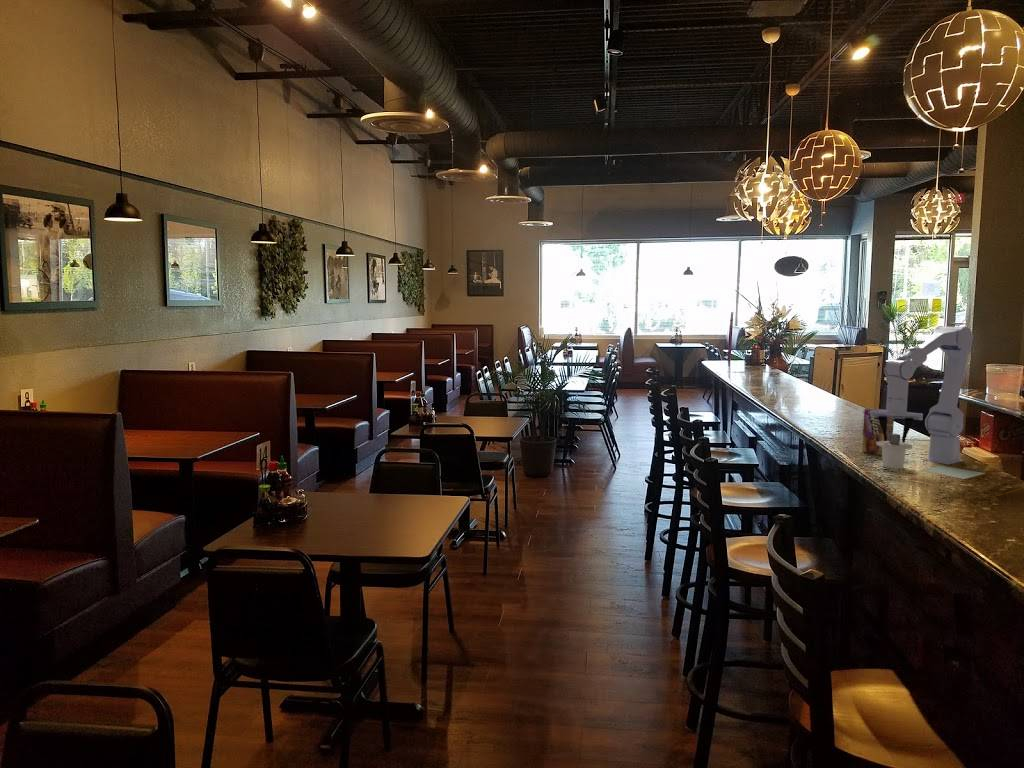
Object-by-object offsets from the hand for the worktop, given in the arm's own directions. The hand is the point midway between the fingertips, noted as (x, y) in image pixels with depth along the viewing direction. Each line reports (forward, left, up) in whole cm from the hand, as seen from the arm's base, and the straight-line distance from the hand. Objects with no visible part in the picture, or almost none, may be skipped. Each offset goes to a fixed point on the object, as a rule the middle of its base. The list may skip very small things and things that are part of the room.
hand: (894, 441), depth 231 cm
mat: (-8, +14, -8) cm, 18 cm away
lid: (0, 0, -2) cm, 2 cm away
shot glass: (0, 0, -9) cm, 9 cm away
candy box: (-17, -15, -9) cm, 24 cm away
